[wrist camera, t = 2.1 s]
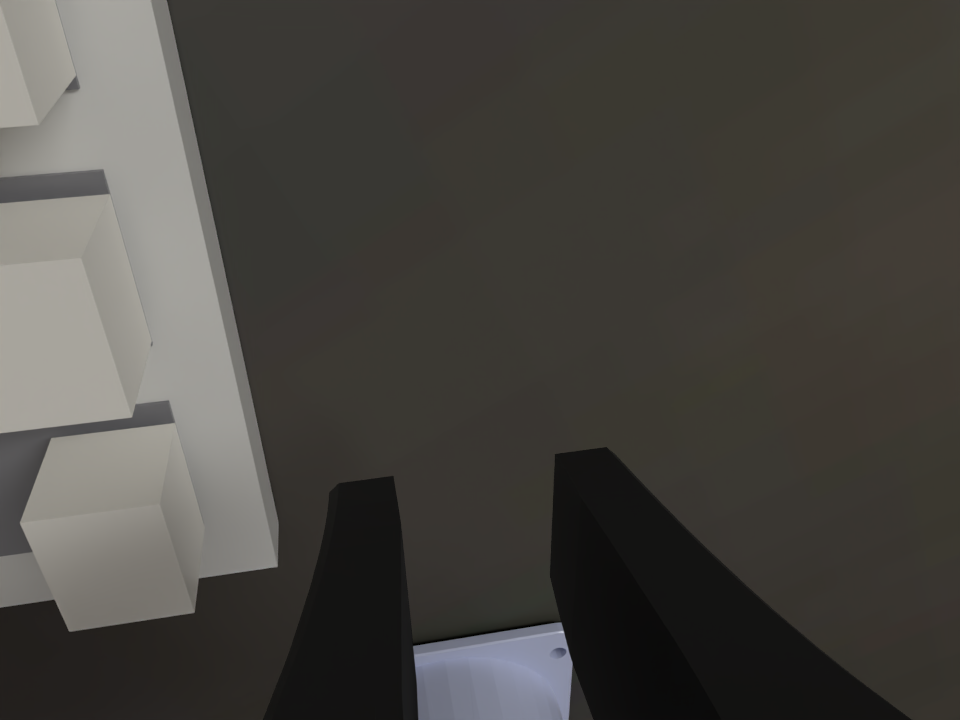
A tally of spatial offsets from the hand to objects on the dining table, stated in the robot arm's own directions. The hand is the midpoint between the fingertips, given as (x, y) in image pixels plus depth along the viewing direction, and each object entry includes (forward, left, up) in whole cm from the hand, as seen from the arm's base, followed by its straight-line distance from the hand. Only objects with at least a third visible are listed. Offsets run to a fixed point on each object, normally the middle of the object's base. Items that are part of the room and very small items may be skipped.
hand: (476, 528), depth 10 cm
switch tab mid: (0, +6, -7) cm, 10 cm away
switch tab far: (-5, +6, -8) cm, 11 cm away
